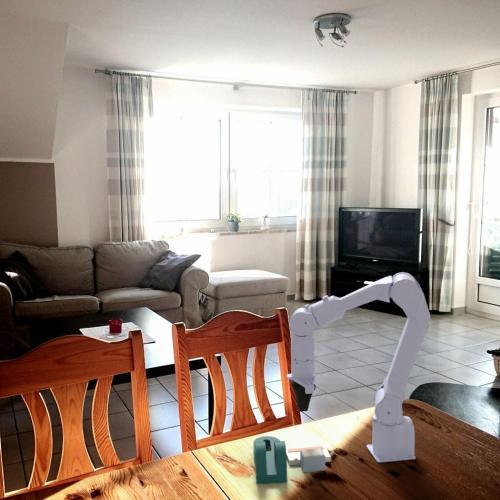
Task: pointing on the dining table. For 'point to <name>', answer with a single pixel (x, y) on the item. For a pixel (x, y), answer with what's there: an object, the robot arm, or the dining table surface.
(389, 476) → the dining table surface
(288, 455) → the spiral notebook
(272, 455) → the bracket
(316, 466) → the stub
